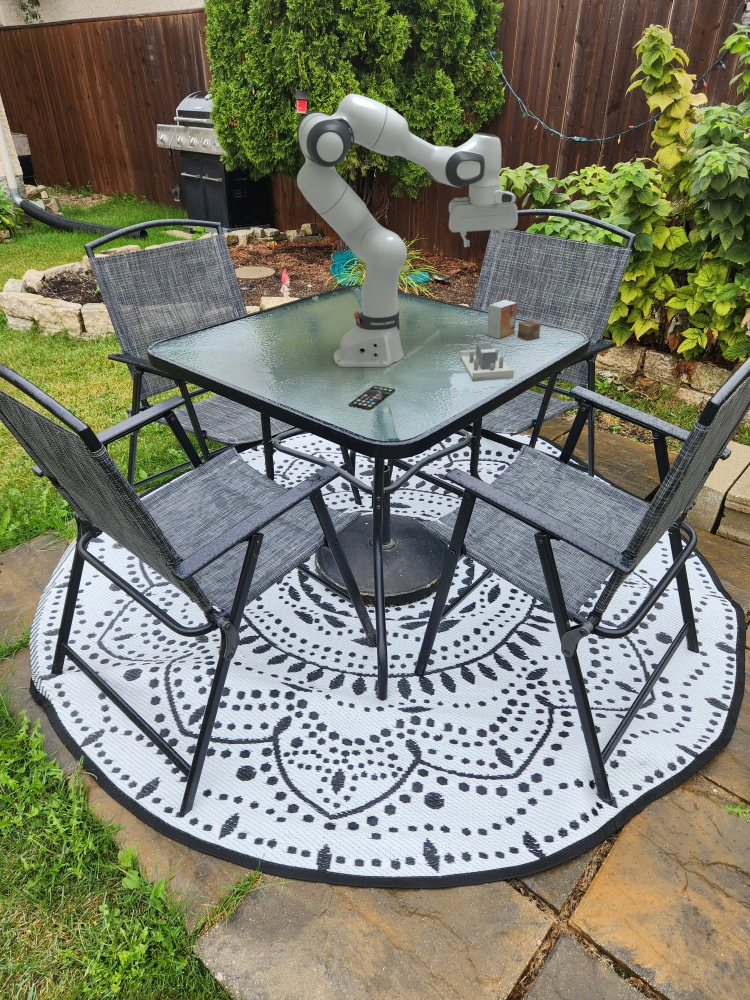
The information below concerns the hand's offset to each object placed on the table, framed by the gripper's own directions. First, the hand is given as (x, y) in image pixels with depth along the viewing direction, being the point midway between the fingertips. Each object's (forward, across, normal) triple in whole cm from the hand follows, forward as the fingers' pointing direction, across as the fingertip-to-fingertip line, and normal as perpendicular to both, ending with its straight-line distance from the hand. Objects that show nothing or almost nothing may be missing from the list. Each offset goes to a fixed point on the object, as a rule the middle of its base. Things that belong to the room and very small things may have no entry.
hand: (482, 245), depth 202 cm
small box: (+31, +10, +8) cm, 34 cm away
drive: (+30, -2, -19) cm, 36 cm away
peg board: (+31, -2, -20) cm, 37 cm away
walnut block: (+31, +18, +4) cm, 36 cm away
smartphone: (+32, -38, -35) cm, 60 cm away
